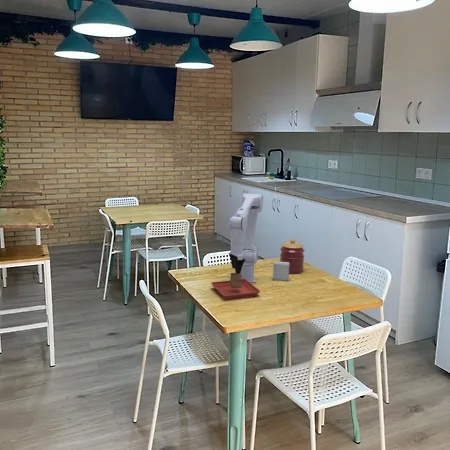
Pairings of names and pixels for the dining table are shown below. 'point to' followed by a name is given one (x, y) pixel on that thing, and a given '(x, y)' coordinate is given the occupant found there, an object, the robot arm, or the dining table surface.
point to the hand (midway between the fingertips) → (236, 270)
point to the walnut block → (236, 280)
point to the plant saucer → (235, 289)
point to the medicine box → (281, 271)
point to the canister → (293, 256)
